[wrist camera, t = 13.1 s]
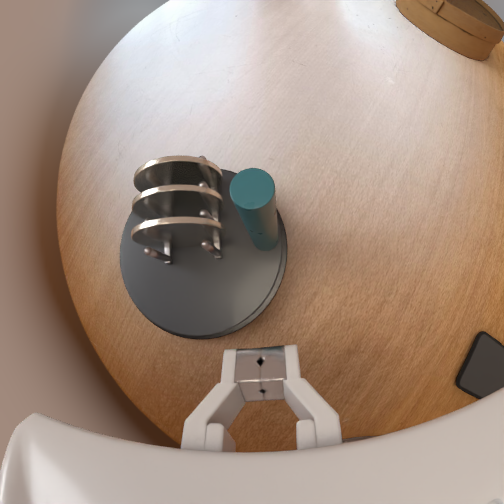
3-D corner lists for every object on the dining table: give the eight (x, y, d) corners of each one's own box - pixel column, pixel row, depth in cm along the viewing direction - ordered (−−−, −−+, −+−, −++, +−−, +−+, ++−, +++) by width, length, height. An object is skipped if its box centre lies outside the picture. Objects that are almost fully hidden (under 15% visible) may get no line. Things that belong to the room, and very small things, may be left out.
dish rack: (290, 327, 25) (299, 352, 13) (128, 335, 27) (41, 348, 14) (271, 161, 28) (262, 74, 16) (126, 186, 30) (58, 132, 17)
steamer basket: (433, 51, 31) (452, 9, 20) (375, -9, 36) (382, -43, 25) (505, 71, 29) (525, 43, 18) (450, 9, 34) (461, -18, 23)
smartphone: (508, 413, 19) (455, 386, 22) (504, 412, 20) (451, 384, 23) (530, 366, 20) (482, 328, 22) (526, 365, 21) (477, 327, 23)
